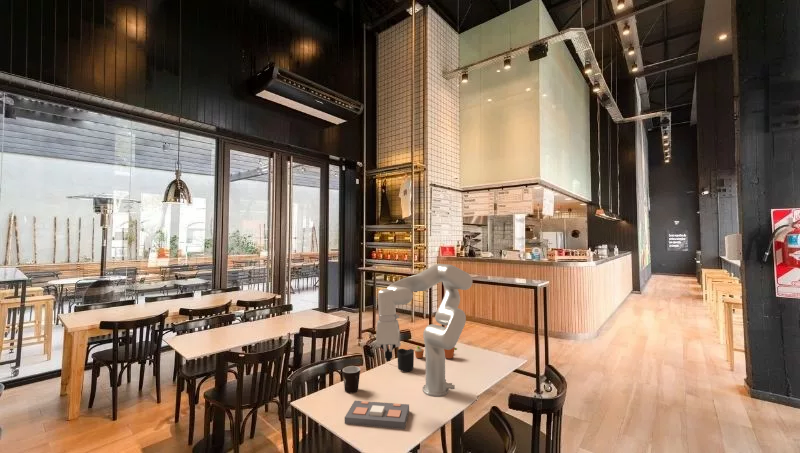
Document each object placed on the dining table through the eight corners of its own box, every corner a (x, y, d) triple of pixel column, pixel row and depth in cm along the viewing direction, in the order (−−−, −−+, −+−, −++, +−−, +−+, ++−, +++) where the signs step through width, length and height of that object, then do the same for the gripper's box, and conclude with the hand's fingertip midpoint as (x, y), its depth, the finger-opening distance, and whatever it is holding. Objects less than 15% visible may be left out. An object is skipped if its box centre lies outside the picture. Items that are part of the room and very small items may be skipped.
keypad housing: (409, 411, 145) (409, 403, 146) (404, 430, 132) (404, 421, 132) (354, 407, 149) (354, 399, 149) (344, 425, 135) (344, 416, 135)
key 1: (368, 412, 142) (367, 407, 142) (364, 419, 137) (364, 414, 137) (356, 411, 143) (356, 407, 143) (352, 418, 138) (352, 413, 138)
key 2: (401, 415, 140) (401, 410, 140) (399, 421, 135) (399, 416, 135) (389, 414, 141) (389, 409, 141) (386, 420, 136) (386, 415, 136)
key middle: (384, 411, 141) (384, 406, 141) (381, 417, 136) (381, 412, 136) (372, 410, 142) (372, 405, 142) (369, 416, 137) (369, 411, 137)
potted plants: (446, 350, 225) (446, 335, 225) (460, 357, 211) (459, 341, 211) (411, 355, 215) (410, 340, 215) (422, 364, 200) (422, 347, 201)
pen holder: (404, 373, 186) (404, 354, 186) (394, 368, 193) (393, 350, 194) (417, 369, 192) (417, 351, 192) (406, 364, 199) (406, 347, 199)
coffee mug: (343, 386, 170) (343, 366, 170) (360, 386, 171) (360, 365, 171) (341, 397, 158) (341, 375, 159) (359, 396, 159) (359, 375, 159)
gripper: (405, 315, 152) (406, 356, 152) (372, 315, 154) (373, 356, 154) (403, 320, 145) (404, 363, 145) (368, 320, 146) (370, 363, 146)
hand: (388, 359), depth 149 cm, fingers closed
